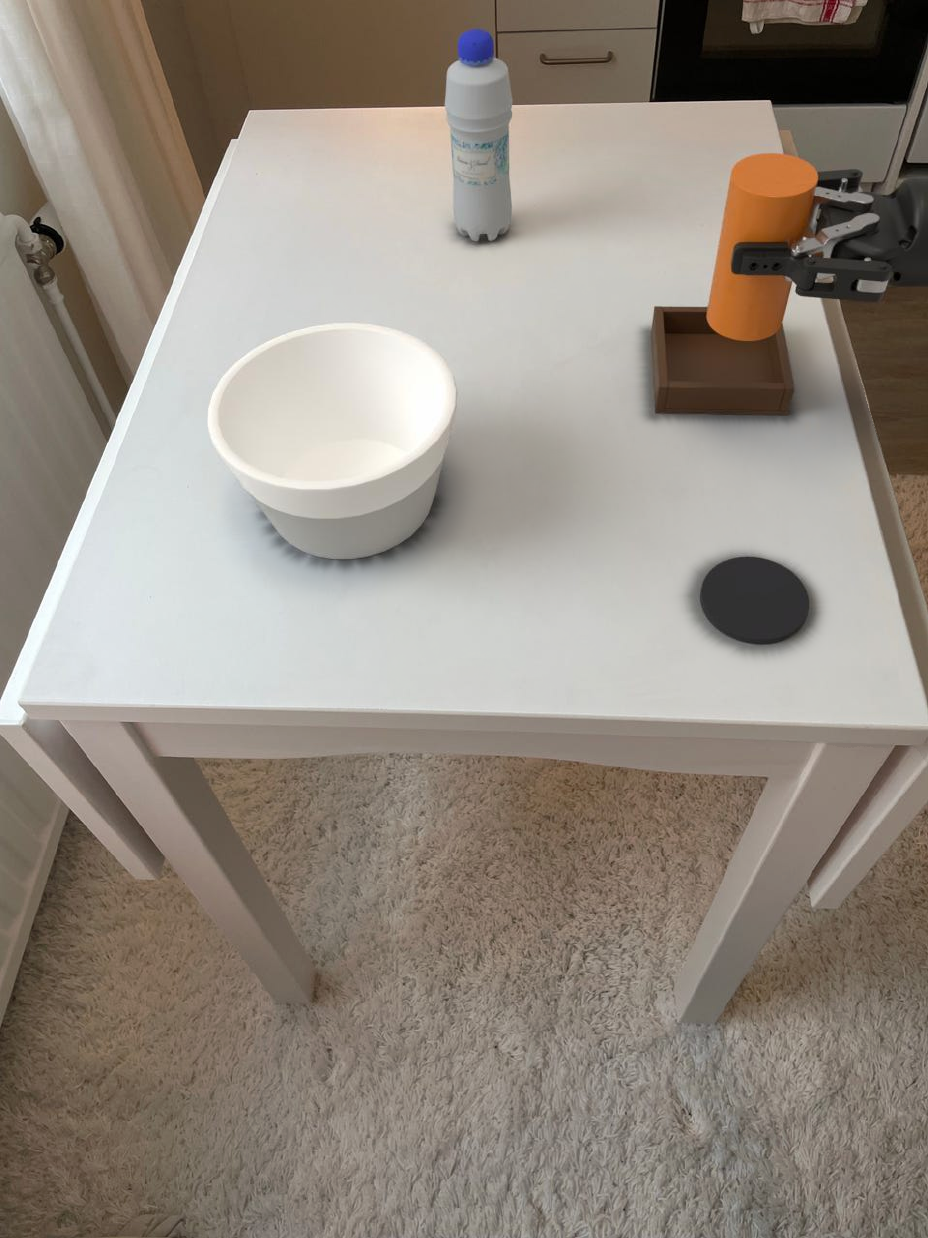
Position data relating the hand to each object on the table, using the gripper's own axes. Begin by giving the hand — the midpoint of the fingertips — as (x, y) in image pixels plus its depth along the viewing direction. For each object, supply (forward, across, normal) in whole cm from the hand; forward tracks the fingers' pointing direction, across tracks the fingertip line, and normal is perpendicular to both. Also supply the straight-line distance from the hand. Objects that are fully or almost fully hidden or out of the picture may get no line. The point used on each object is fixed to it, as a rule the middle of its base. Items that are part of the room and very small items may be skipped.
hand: (729, 232), depth 71 cm
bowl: (+30, +11, +18) cm, 36 cm away
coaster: (-3, +21, +18) cm, 28 cm away
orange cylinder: (-2, 0, +8) cm, 8 cm away
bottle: (+21, -29, +18) cm, 40 cm away
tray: (-2, -6, +18) cm, 19 cm away
